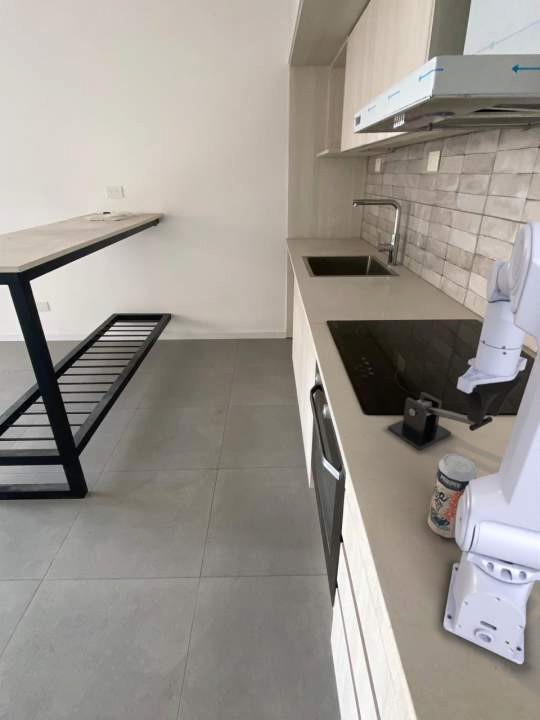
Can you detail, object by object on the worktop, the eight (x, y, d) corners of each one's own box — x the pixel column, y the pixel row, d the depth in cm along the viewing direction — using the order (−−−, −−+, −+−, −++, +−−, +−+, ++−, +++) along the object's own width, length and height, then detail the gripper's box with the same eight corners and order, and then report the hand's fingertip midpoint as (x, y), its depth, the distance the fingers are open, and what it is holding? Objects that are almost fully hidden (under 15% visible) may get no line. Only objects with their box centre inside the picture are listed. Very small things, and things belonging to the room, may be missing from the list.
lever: (493, 426, 67) (492, 413, 67) (474, 435, 65) (473, 422, 64) (426, 408, 79) (425, 397, 79) (408, 415, 77) (407, 404, 77)
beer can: (420, 520, 60) (431, 457, 55) (444, 510, 61) (457, 448, 56) (444, 545, 56) (459, 479, 50) (469, 533, 57) (486, 468, 52)
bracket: (450, 436, 78) (457, 402, 75) (418, 451, 74) (424, 416, 71) (418, 417, 84) (423, 385, 81) (387, 430, 80) (391, 397, 77)
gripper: (503, 324, 66) (487, 394, 72) (446, 343, 60) (433, 418, 66) (548, 338, 61) (526, 412, 66) (490, 360, 54) (471, 440, 60)
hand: (482, 417), depth 66 cm, fingers open, 4 cm apart
